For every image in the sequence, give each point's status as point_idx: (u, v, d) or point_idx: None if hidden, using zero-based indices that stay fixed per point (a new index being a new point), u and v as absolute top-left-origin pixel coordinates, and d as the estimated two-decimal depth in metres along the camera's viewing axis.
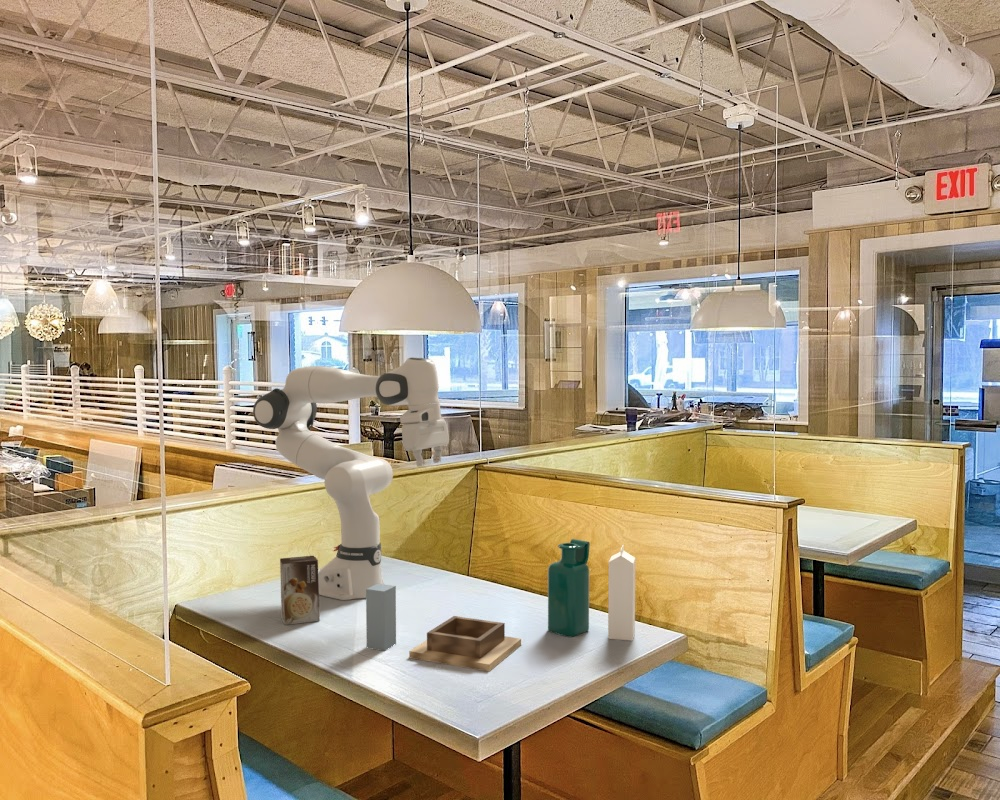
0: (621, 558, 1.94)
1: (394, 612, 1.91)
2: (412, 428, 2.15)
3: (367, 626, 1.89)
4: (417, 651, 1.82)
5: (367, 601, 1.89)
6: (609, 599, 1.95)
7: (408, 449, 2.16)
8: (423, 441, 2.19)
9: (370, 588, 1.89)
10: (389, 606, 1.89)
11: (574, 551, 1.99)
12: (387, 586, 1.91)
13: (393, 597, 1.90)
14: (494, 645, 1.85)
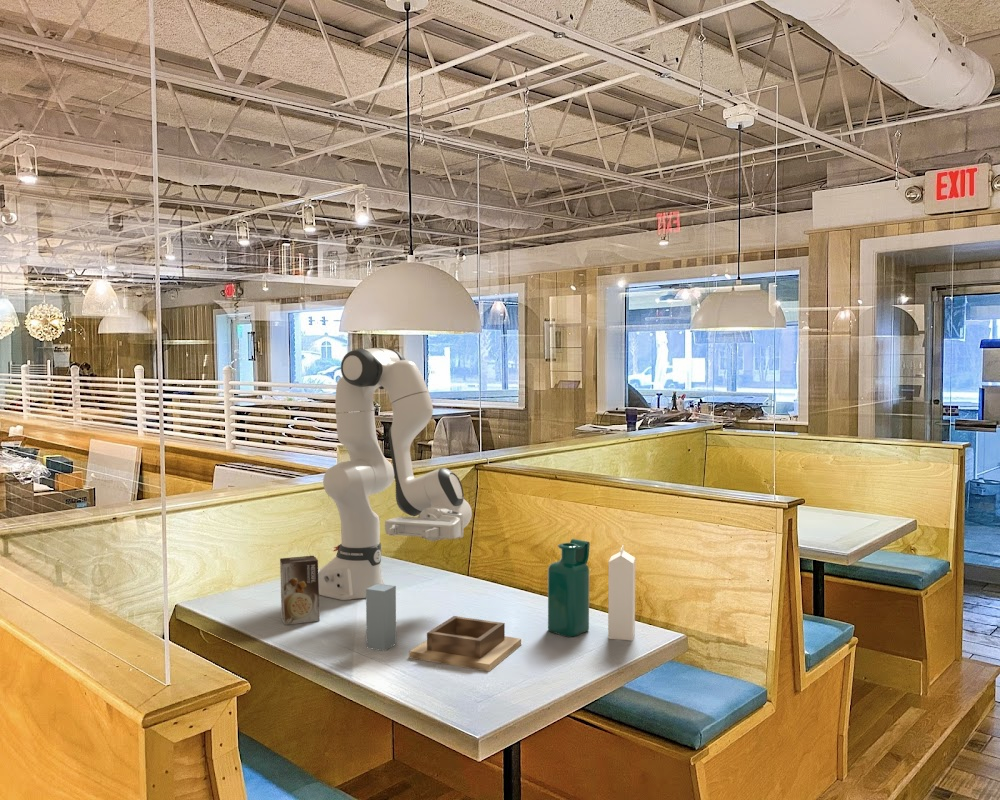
0: (621, 558, 1.94)
1: (394, 612, 1.91)
2: (460, 532, 2.06)
3: (367, 626, 1.89)
4: (417, 651, 1.82)
5: (367, 601, 1.89)
6: (609, 599, 1.95)
7: (451, 530, 2.01)
8: None
9: (370, 588, 1.89)
10: (389, 606, 1.89)
11: (574, 551, 1.99)
12: (387, 586, 1.91)
13: (393, 597, 1.90)
14: (494, 645, 1.85)
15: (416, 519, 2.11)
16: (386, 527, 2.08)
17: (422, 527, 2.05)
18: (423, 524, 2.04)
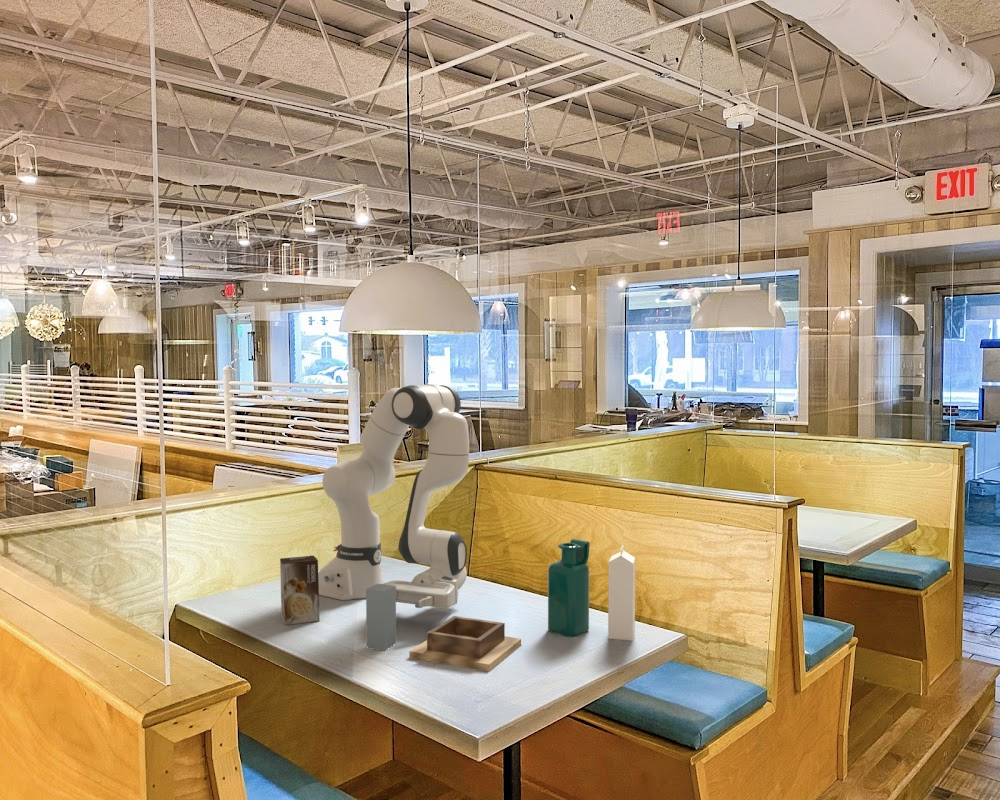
0: (621, 558, 1.94)
1: (394, 612, 1.91)
2: (454, 600, 2.04)
3: (367, 626, 1.89)
4: (417, 651, 1.82)
5: (367, 601, 1.89)
6: (609, 599, 1.95)
7: (445, 599, 1.99)
8: None
9: (370, 588, 1.89)
10: (389, 606, 1.89)
11: (574, 551, 1.99)
12: (387, 586, 1.91)
13: (393, 597, 1.90)
14: (494, 645, 1.85)
15: (410, 584, 2.08)
16: None
17: (416, 594, 2.02)
18: (417, 592, 2.02)
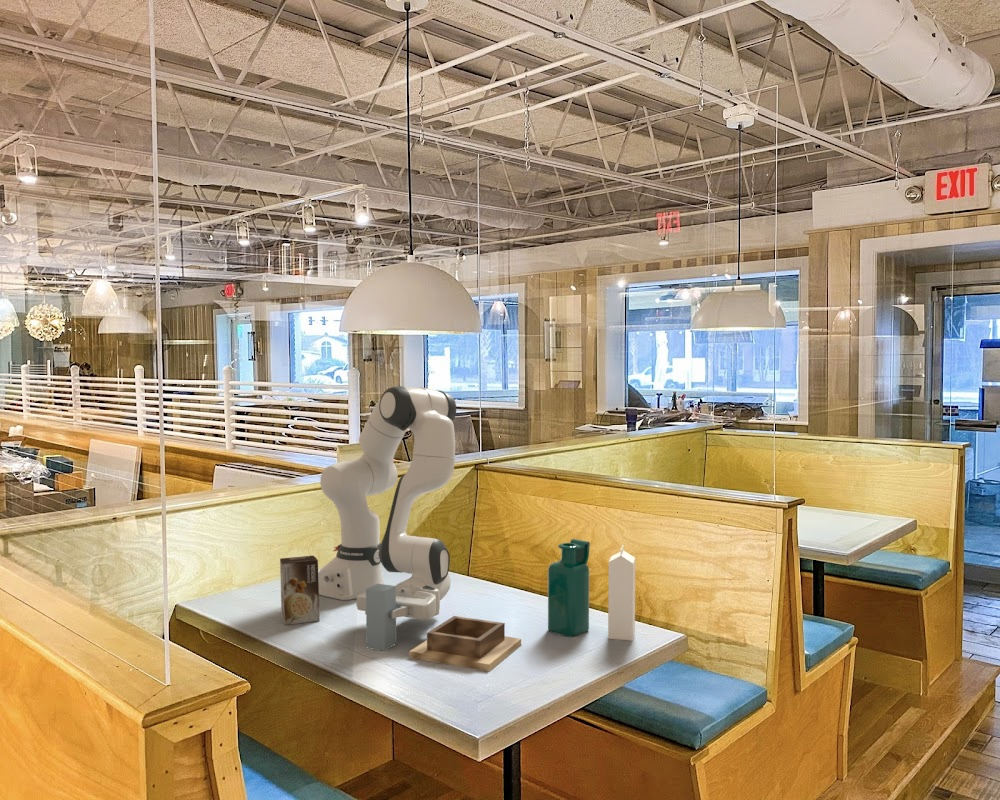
0: (621, 558, 1.94)
1: None
2: (435, 611, 1.95)
3: (367, 626, 1.89)
4: (417, 651, 1.82)
5: (367, 601, 1.89)
6: (609, 599, 1.95)
7: (426, 610, 1.90)
8: None
9: (370, 588, 1.89)
10: (389, 606, 1.89)
11: (574, 551, 1.99)
12: (387, 586, 1.91)
13: (393, 597, 1.90)
14: (494, 645, 1.85)
15: None
16: (358, 603, 1.97)
17: None
18: (396, 602, 1.93)
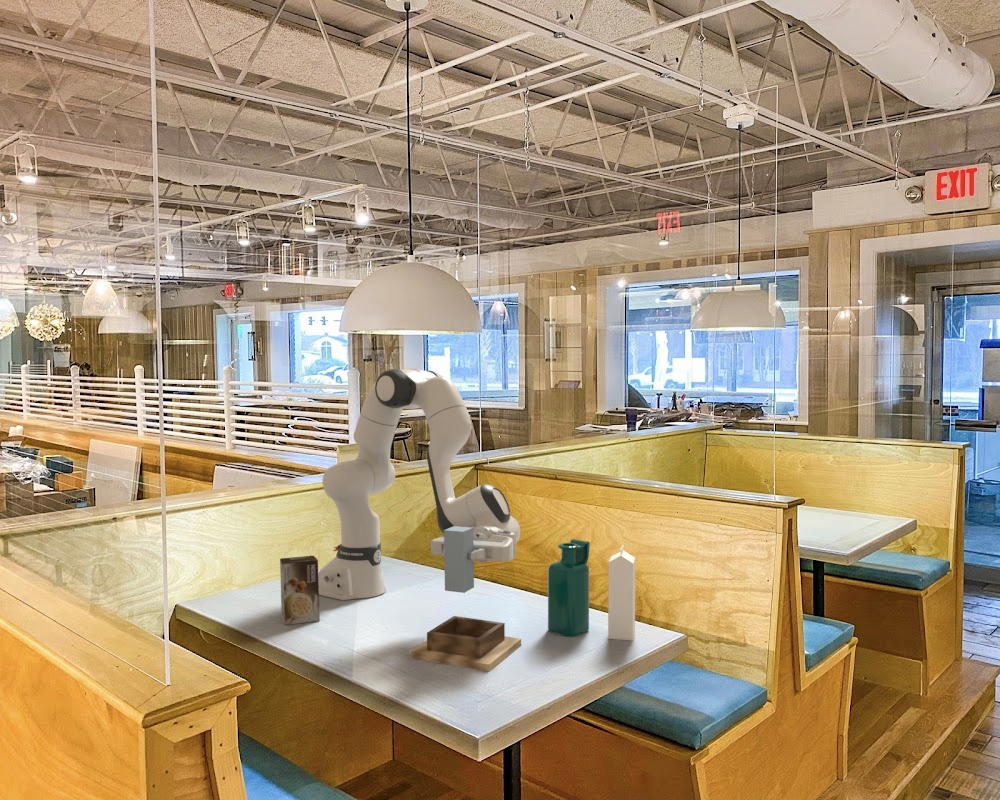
0: (621, 558, 1.94)
1: None
2: None
3: (446, 568, 1.85)
4: (417, 651, 1.82)
5: (445, 542, 1.84)
6: (609, 599, 1.95)
7: (505, 552, 1.86)
8: None
9: (448, 529, 1.85)
10: (468, 548, 1.85)
11: (574, 551, 1.99)
12: (465, 528, 1.86)
13: (471, 539, 1.86)
14: (494, 645, 1.85)
15: None
16: (433, 548, 1.93)
17: None
18: (473, 545, 1.89)
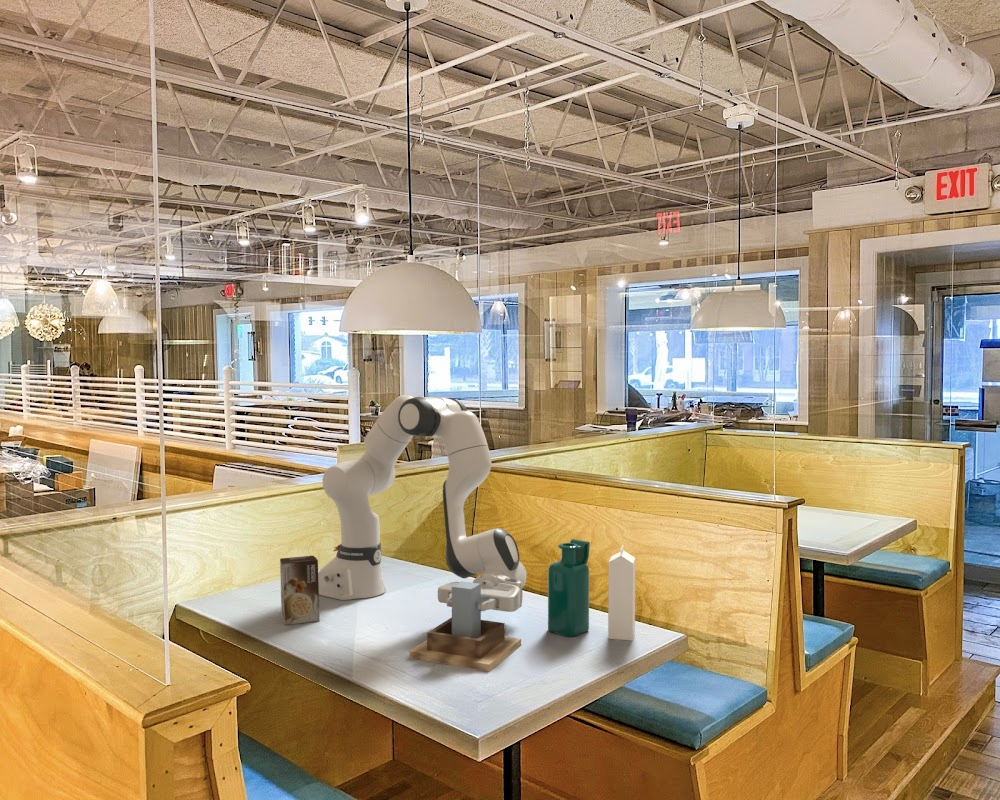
0: (621, 558, 1.94)
1: None
2: (519, 603, 1.91)
3: (453, 624, 1.85)
4: (417, 651, 1.82)
5: (453, 599, 1.85)
6: (609, 599, 1.95)
7: (512, 602, 1.86)
8: None
9: (455, 586, 1.85)
10: (475, 604, 1.85)
11: (574, 551, 1.99)
12: (472, 584, 1.87)
13: (478, 595, 1.87)
14: (494, 645, 1.85)
15: None
16: (440, 595, 1.93)
17: None
18: (481, 594, 1.89)
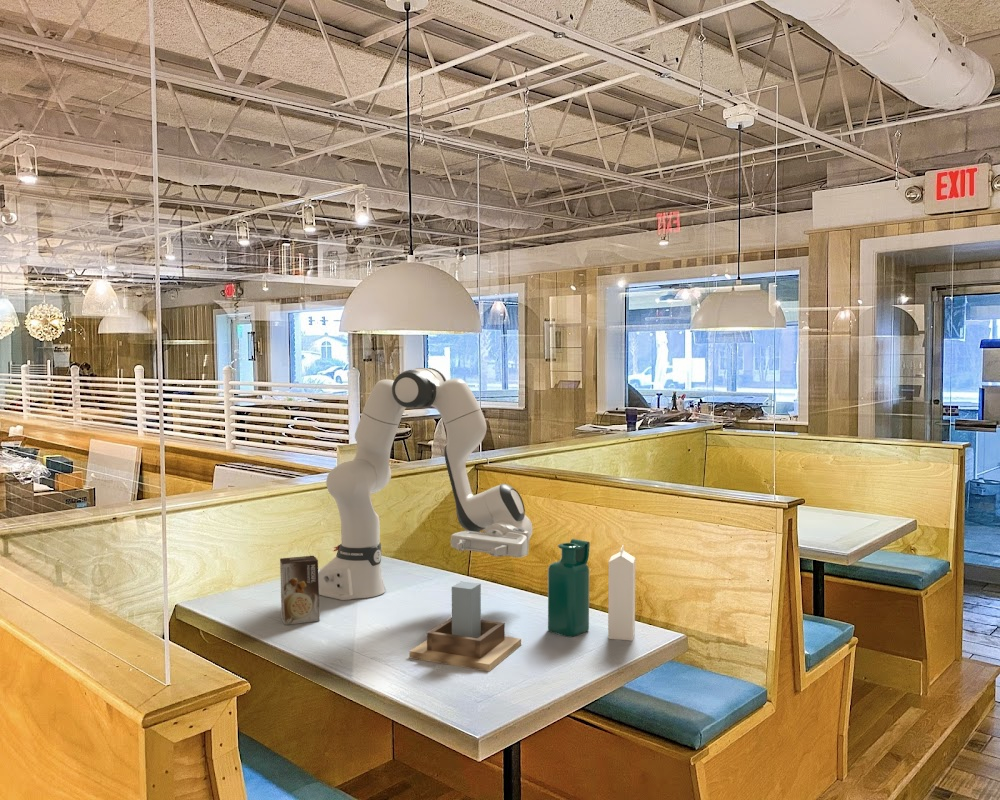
0: (621, 558, 1.94)
1: (479, 610, 1.87)
2: (526, 550, 2.07)
3: (453, 624, 1.85)
4: (417, 651, 1.82)
5: (453, 599, 1.85)
6: (609, 599, 1.95)
7: (519, 549, 2.02)
8: None
9: (455, 586, 1.85)
10: (475, 604, 1.85)
11: (574, 551, 1.99)
12: (472, 584, 1.87)
13: (478, 595, 1.87)
14: (494, 645, 1.85)
15: (481, 534, 2.12)
16: (453, 542, 2.10)
17: (489, 544, 2.06)
18: (491, 541, 2.05)
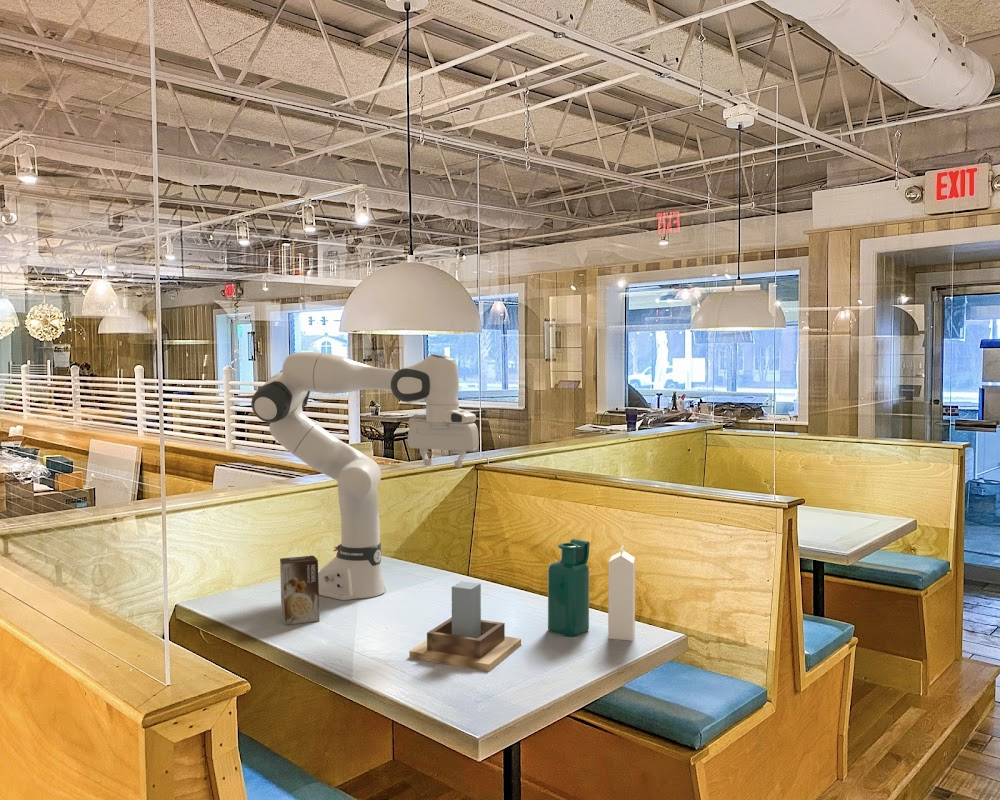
0: (621, 558, 1.94)
1: (479, 610, 1.87)
2: (476, 428, 2.14)
3: (453, 624, 1.85)
4: (417, 651, 1.82)
5: (453, 599, 1.85)
6: (609, 599, 1.95)
7: (474, 449, 2.12)
8: None
9: (455, 586, 1.85)
10: (475, 604, 1.85)
11: (574, 551, 1.99)
12: (472, 584, 1.87)
13: (478, 595, 1.87)
14: (494, 645, 1.85)
15: (429, 429, 2.16)
16: None
17: None
18: (446, 449, 2.15)
